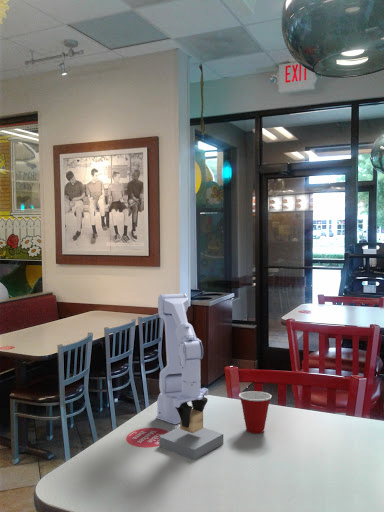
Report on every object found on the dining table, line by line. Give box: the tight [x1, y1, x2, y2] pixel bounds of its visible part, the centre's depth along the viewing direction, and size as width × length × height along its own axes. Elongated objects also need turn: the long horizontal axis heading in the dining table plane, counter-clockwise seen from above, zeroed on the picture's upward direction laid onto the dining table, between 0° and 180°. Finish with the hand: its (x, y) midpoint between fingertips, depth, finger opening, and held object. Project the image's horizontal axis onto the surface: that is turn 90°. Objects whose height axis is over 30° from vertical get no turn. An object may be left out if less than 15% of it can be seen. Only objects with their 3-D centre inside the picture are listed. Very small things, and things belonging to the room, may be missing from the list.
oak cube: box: [179, 408, 204, 433], centre depth 145 cm, size 5×5×5 cm
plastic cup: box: [238, 390, 273, 434], centre depth 157 cm, size 11×11×12 cm
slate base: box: [158, 426, 224, 461], centre depth 146 cm, size 14×14×3 cm
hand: (191, 423), depth 146 cm, fingers closed on oak cube, 5 cm apart
